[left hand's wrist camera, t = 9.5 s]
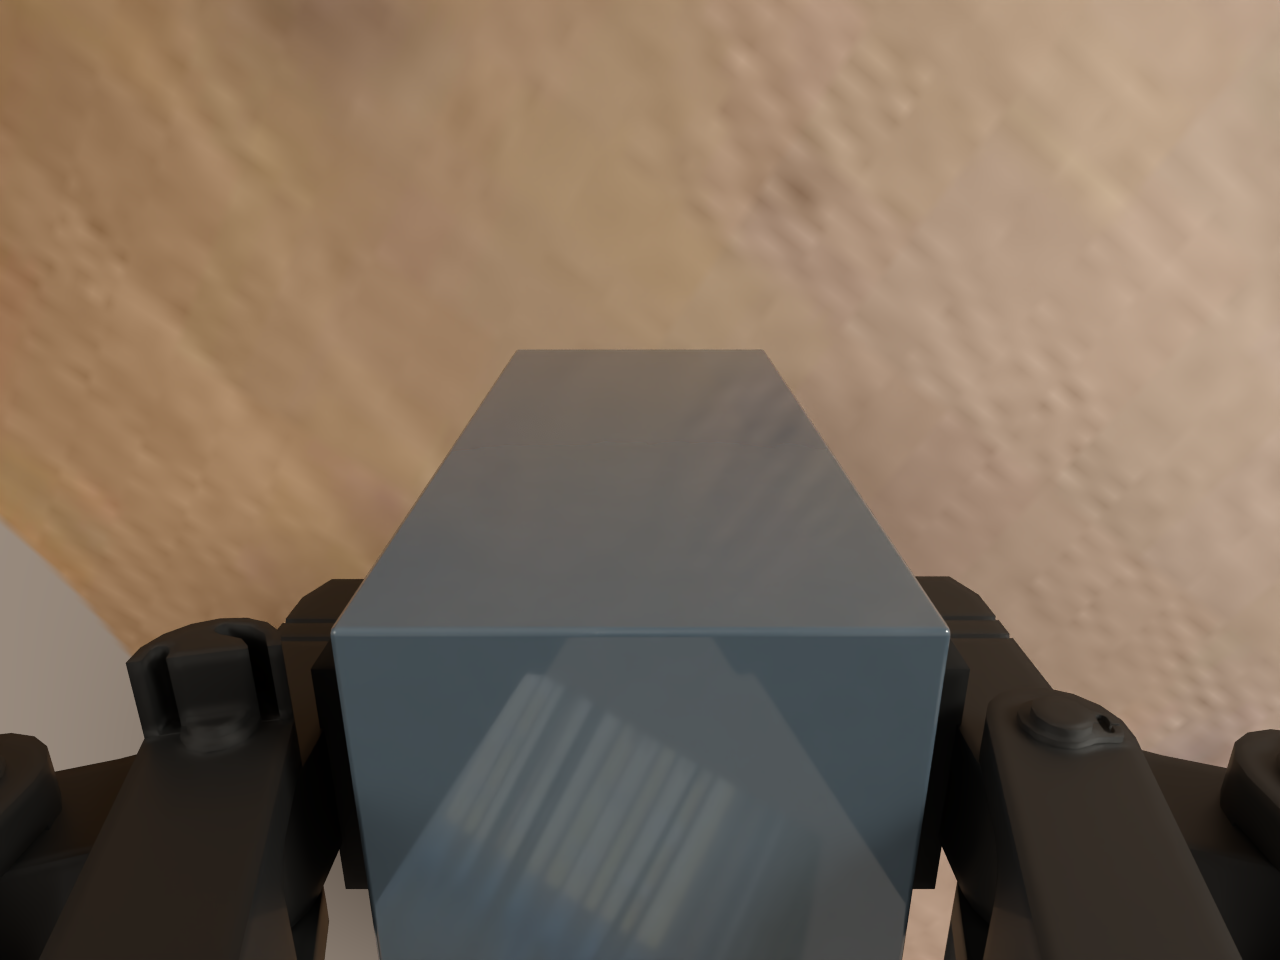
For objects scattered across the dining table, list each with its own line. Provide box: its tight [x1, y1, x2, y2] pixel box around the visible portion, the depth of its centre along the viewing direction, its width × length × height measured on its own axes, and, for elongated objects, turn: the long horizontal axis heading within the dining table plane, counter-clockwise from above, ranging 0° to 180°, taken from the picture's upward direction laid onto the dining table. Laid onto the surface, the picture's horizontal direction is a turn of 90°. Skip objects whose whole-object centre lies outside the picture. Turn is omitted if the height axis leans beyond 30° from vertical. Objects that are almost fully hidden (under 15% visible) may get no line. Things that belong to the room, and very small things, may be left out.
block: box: [330, 350, 951, 960], centre depth 12 cm, size 5×5×10 cm
